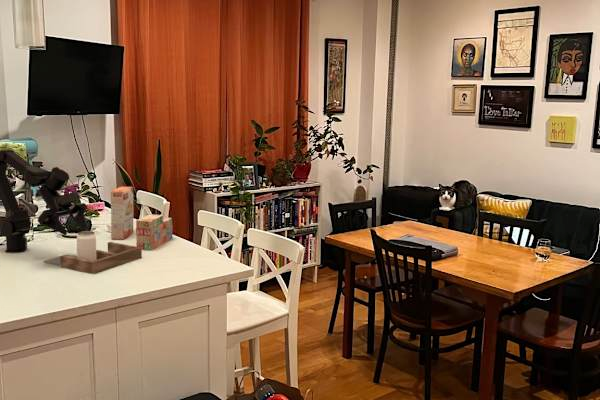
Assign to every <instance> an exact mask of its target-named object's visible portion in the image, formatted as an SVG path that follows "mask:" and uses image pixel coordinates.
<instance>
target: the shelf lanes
mask: <svg viewBox="0 0 600 400" xmlns="http://www.w3.org/2000/svg"><path fill="white" fill-rule="evenodd" d="M142 253H143V250H142V247H137V245H132V244H131V245H129V244H124V243H119V242H113V241H108V242H107V251H104V250H99V249H96V258H97V260H95V261H90V260H85V259H80V258H75V257H70V256H65V255H66V254H63V255H60V263H61V266H60V268H64V269H69V270H72V271H73V270H74V271H77V272H81V273H82V272H84V273H86V272H87V273H86V274H91V273H92V275H94V273H95V274H98V273H101V272H105V271H106V270H109V269H112V268H115V267H119V266H122V265H125V264H127V263H130V262H133V261H137V260H139V259H142V257H143V256H142ZM97 272H98V273H97Z"/></svg>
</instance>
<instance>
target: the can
mask: <svg viewBox="0 0 600 400" xmlns="http://www.w3.org/2000/svg"><path fill="white" fill-rule="evenodd" d="M96 250H97V237H96V235H95V231H91V230H81V231H78V232H77V235H76V256H77V258H80V259H85V260H90V261H95V260H97V258H96Z"/></svg>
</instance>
